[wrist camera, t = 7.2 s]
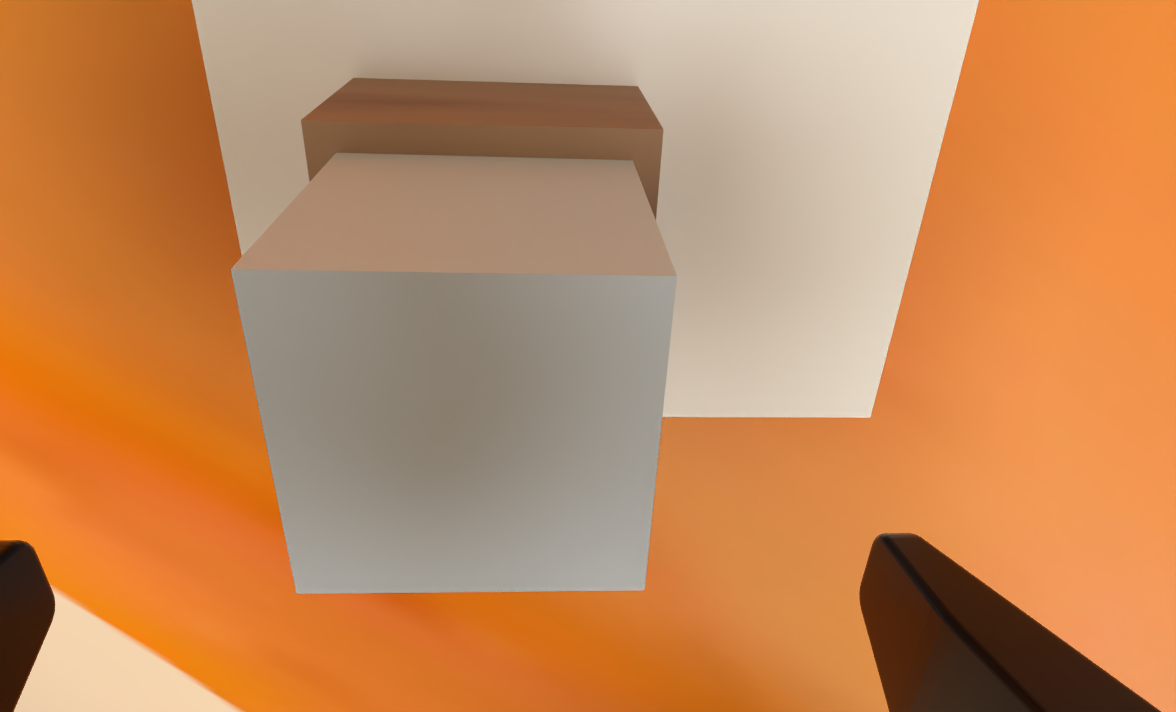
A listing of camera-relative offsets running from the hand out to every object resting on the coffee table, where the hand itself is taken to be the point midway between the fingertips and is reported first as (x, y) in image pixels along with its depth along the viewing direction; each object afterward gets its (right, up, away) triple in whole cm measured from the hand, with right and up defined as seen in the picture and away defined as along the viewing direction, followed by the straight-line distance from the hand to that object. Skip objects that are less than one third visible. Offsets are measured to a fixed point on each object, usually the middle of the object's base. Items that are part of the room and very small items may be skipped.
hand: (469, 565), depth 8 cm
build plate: (+1, +6, +10) cm, 12 cm away
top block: (0, +4, +6) cm, 7 cm away
